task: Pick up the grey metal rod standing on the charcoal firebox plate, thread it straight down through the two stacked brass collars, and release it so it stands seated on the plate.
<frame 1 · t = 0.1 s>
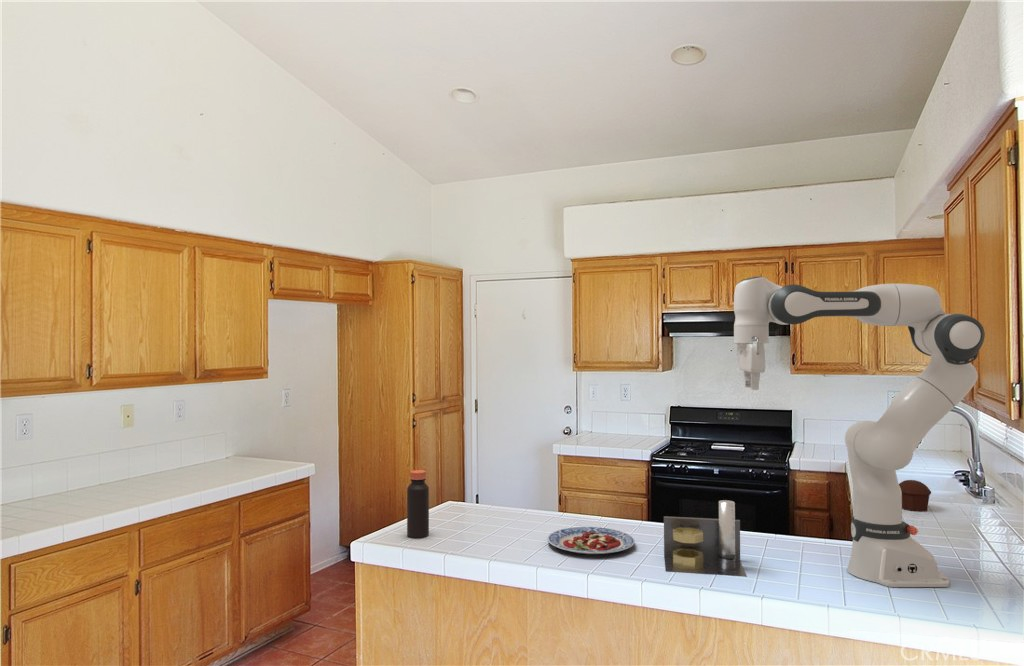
hand: (751, 388, 177), 48 cm above the table, fingers open, 8 cm apart
collar stand: (703, 570, 174), on the table
bottle: (418, 536, 207), on the table
grey metal rod: (727, 566, 173), point 1 cm above the table, touching collar stand
ceramic plate: (590, 546, 196), on the table
muffin: (913, 509, 238), on the table
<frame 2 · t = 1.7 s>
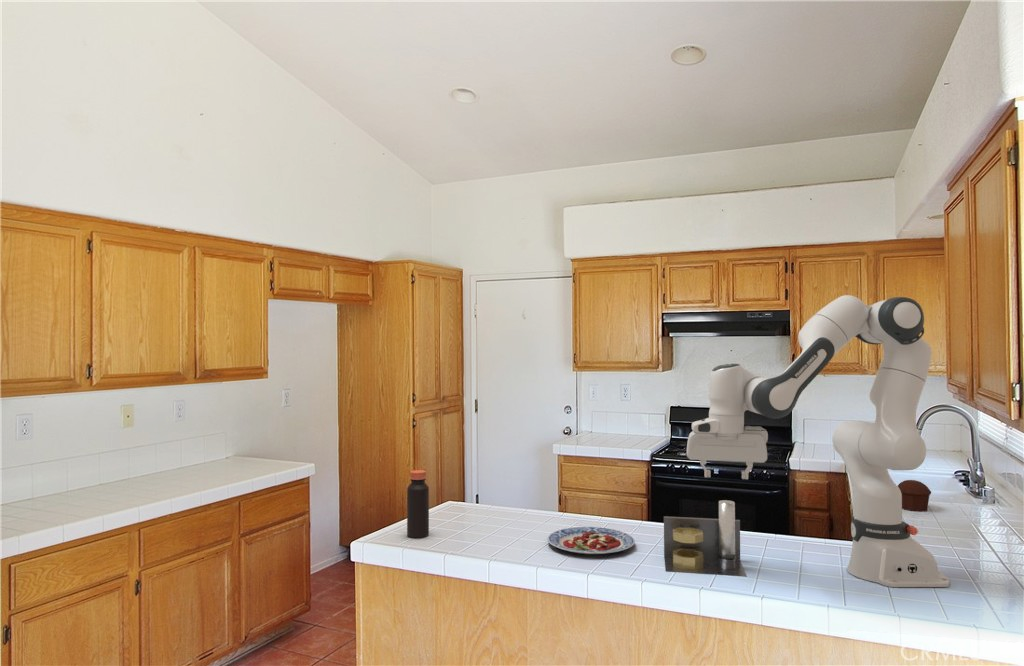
hand: (726, 478, 174), 25 cm above the table, fingers open, 8 cm apart
nothing on the table moved.
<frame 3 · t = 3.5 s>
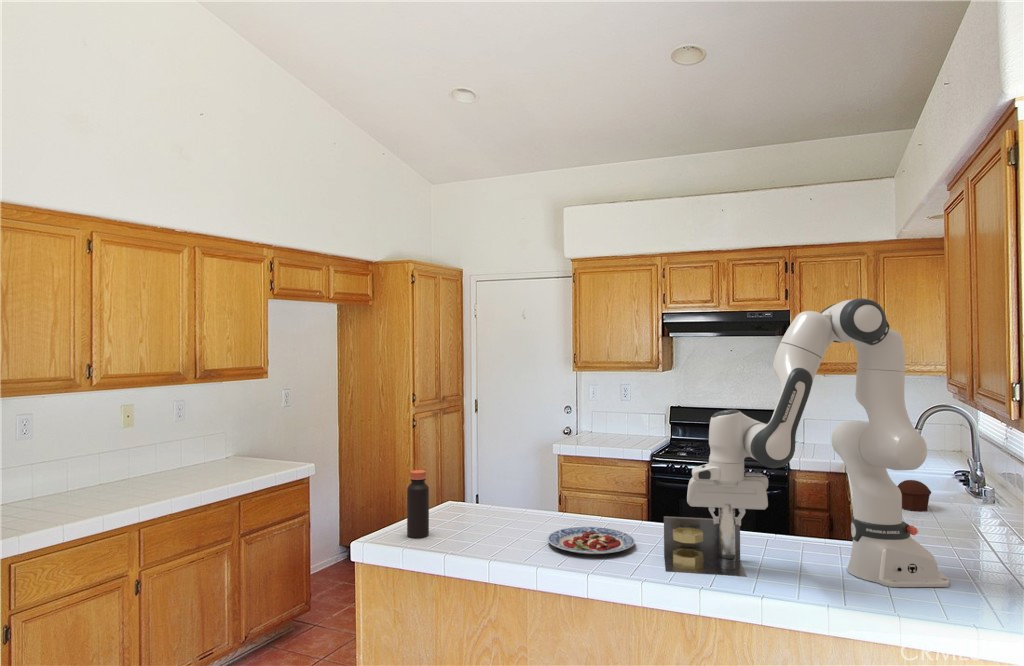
hand: (726, 524, 173), 12 cm above the table, fingers closed on grey metal rod, 4 cm apart
grey metal rod: (727, 566, 173), point 1 cm above the table, touching collar stand, gripper
everything else where it was.
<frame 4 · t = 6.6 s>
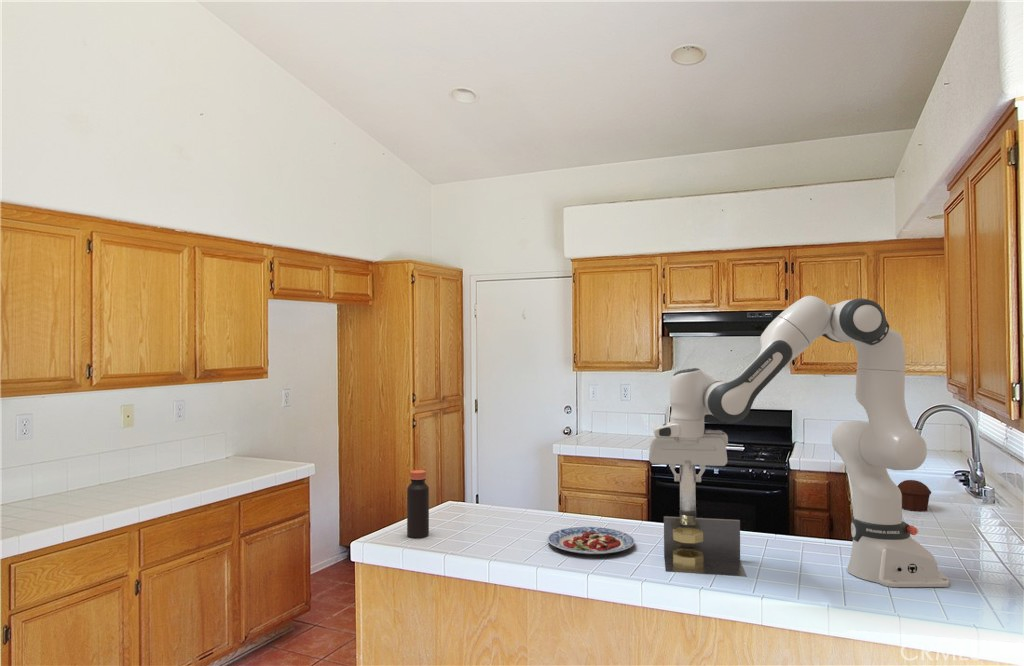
hand: (687, 481, 176), 23 cm above the table, fingers closed on grey metal rod, 4 cm apart
grey metal rod: (687, 523, 175), point 12 cm above the table, touching gripper
everything else where it was.
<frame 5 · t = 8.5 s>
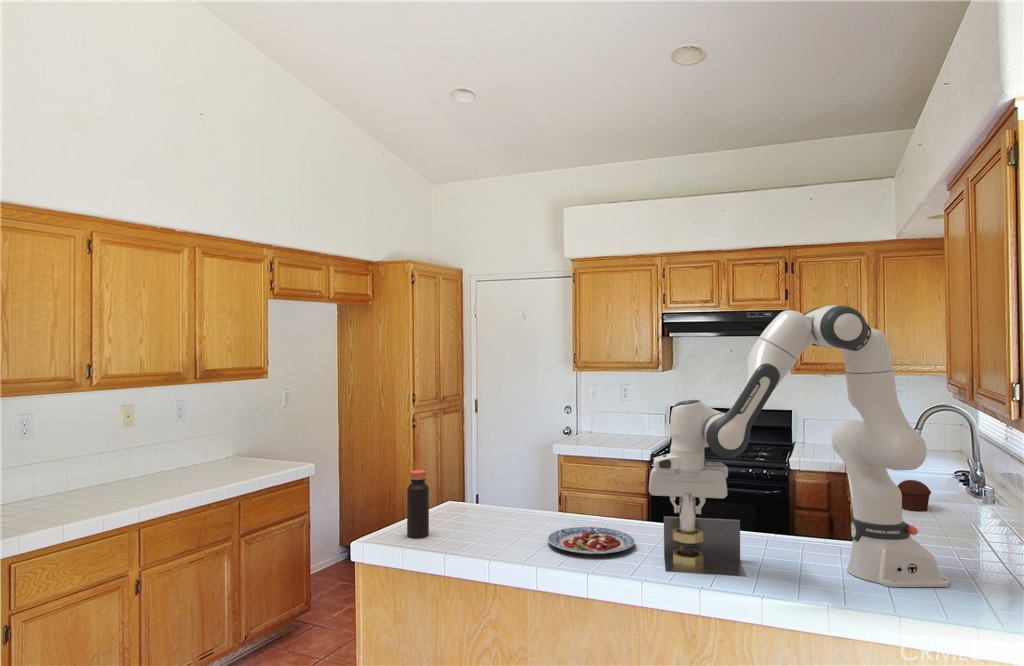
hand: (687, 513, 175), 15 cm above the table, fingers closed on grey metal rod, 4 cm apart
grey metal rod: (687, 555, 175), point 4 cm above the table, touching gripper
everything else where it was.
when the fingers open (13 cm above the table, at t = 10.0 s): grey metal rod stays where it is, resting on collar stand.
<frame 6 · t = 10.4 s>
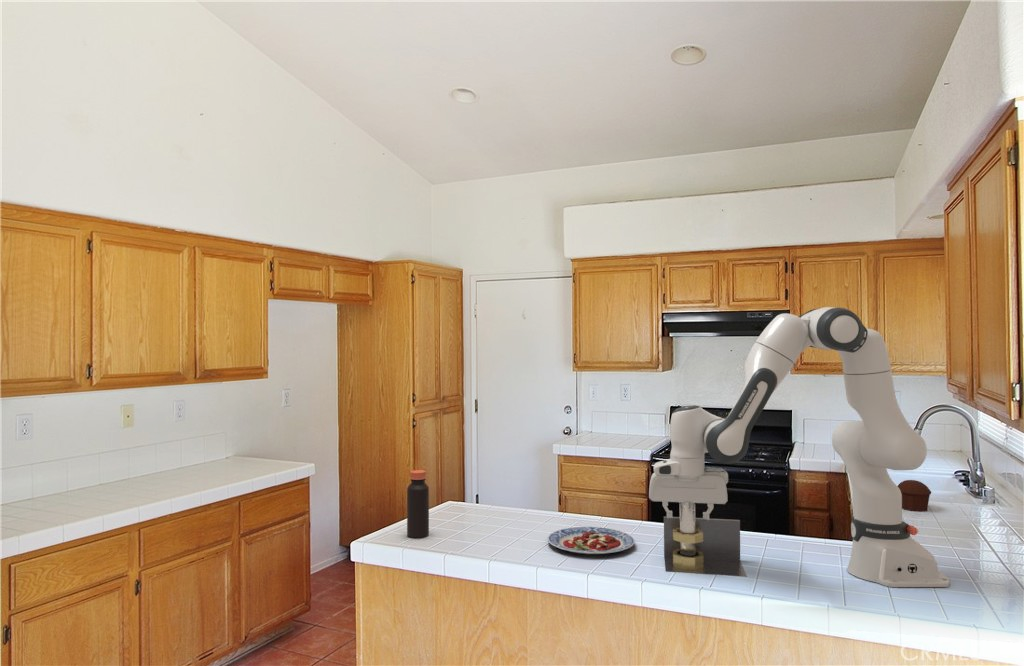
hand: (687, 518, 175), 13 cm above the table, fingers open, 8 cm apart
grey metal rod: (688, 564, 175), point 1 cm above the table, touching collar stand
everything else where it was.
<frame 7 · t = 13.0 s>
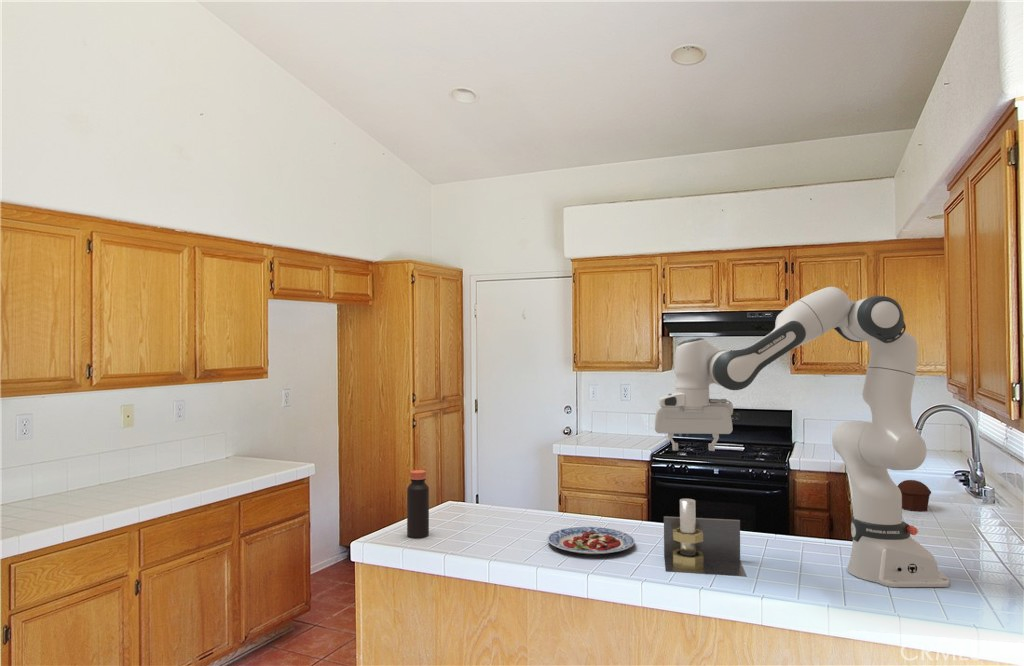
hand: (693, 450, 177), 31 cm above the table, fingers open, 8 cm apart
nothing on the table moved.
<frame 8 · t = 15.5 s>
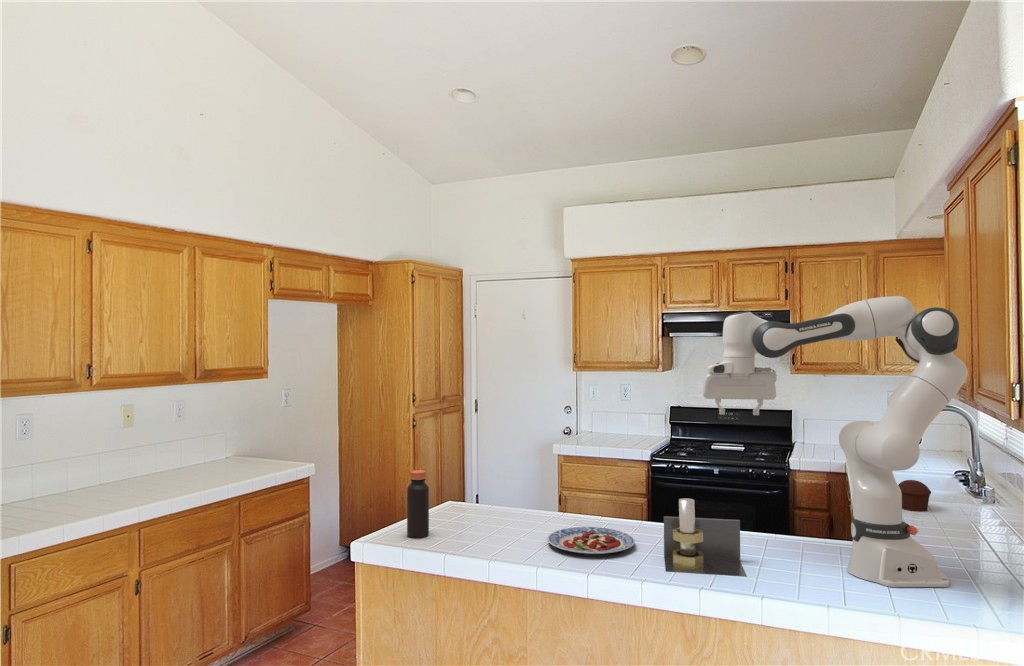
hand: (739, 414, 192), 39 cm above the table, fingers open, 8 cm apart
nothing on the table moved.
at the end: grey metal rod 0.1 cm from the target spot on the collar stand, point 1.2 cm above the collar stand's base; grey metal rod tilted 1°; the gripper is holding nothing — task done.
